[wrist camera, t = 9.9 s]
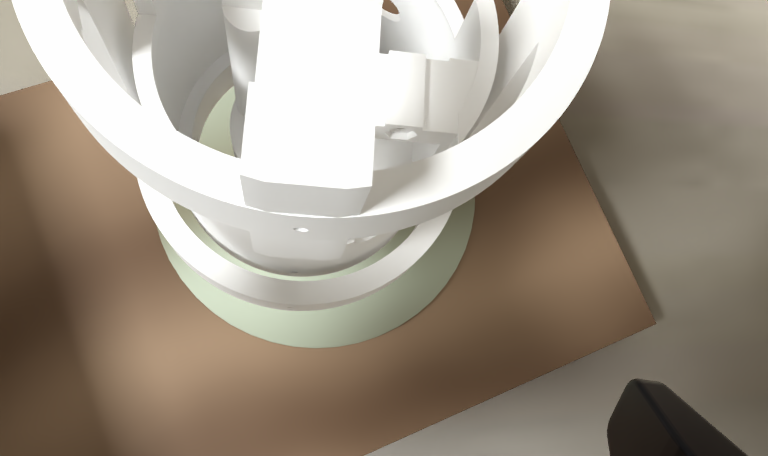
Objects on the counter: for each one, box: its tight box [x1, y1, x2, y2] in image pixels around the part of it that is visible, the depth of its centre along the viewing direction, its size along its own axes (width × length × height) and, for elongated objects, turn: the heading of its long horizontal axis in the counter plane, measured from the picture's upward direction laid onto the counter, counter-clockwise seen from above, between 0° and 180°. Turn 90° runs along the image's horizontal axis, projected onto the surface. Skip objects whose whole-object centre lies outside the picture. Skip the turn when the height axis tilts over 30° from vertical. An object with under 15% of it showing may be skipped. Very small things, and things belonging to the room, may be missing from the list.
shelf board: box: [0, 0, 656, 456], centre depth 19 cm, size 14×22×8 cm, turn 113°
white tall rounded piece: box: [12, 0, 610, 311], centre depth 14 cm, size 7×7×15 cm
